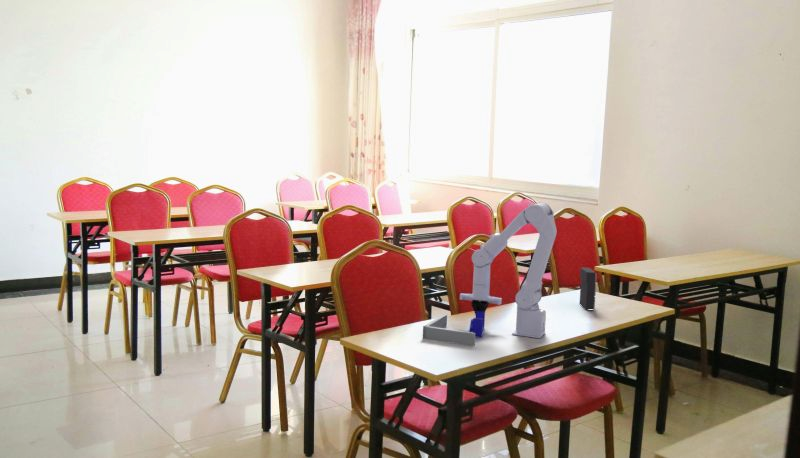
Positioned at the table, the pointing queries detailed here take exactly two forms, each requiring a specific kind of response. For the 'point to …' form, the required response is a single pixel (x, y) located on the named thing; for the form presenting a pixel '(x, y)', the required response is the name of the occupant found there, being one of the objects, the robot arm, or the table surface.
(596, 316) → the table surface
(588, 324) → the table surface
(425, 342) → the table surface
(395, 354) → the table surface
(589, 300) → the dark grey rectangular block
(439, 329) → the corner bracket
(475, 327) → the cable clip
